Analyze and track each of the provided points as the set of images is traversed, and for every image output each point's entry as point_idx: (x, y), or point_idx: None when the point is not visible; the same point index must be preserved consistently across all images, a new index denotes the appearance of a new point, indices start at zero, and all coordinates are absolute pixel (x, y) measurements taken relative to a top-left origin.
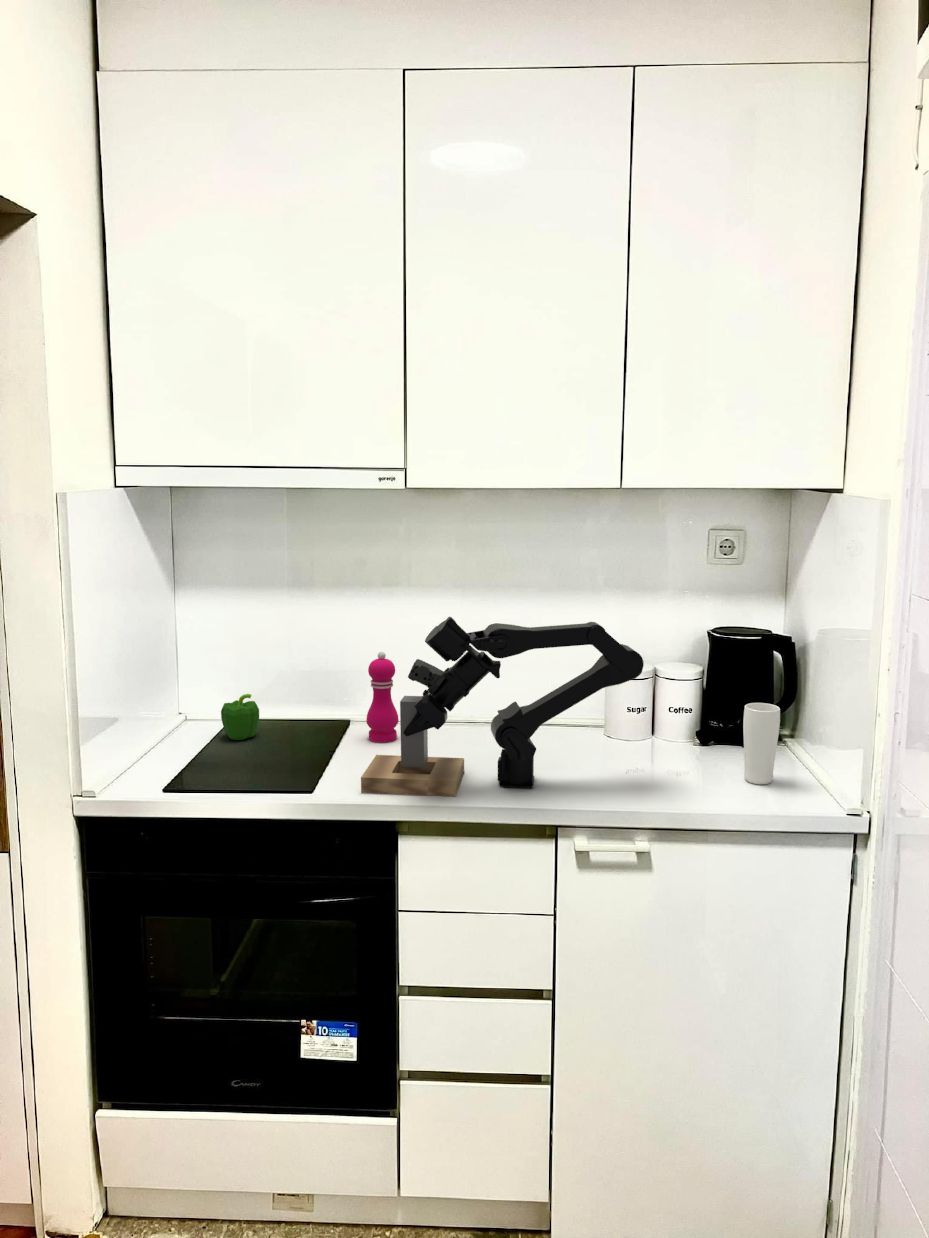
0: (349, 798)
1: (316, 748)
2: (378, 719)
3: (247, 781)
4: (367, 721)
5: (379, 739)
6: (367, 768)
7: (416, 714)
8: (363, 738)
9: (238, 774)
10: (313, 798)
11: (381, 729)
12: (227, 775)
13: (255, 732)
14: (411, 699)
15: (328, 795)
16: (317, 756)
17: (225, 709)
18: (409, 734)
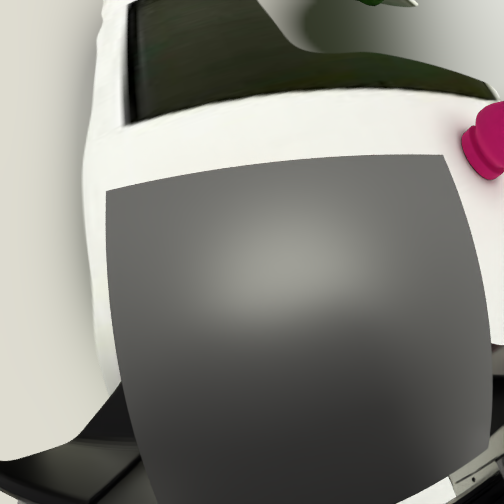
0: (102, 206)
1: (380, 63)
2: (490, 127)
3: (178, 32)
4: (480, 111)
5: (467, 150)
6: None
7: (84, 433)
8: (462, 124)
9: (208, 16)
10: (98, 141)
11: (481, 144)
12: (200, 10)
13: (371, 2)
14: (286, 341)
15: (115, 158)
16: (344, 68)
17: None
18: None
